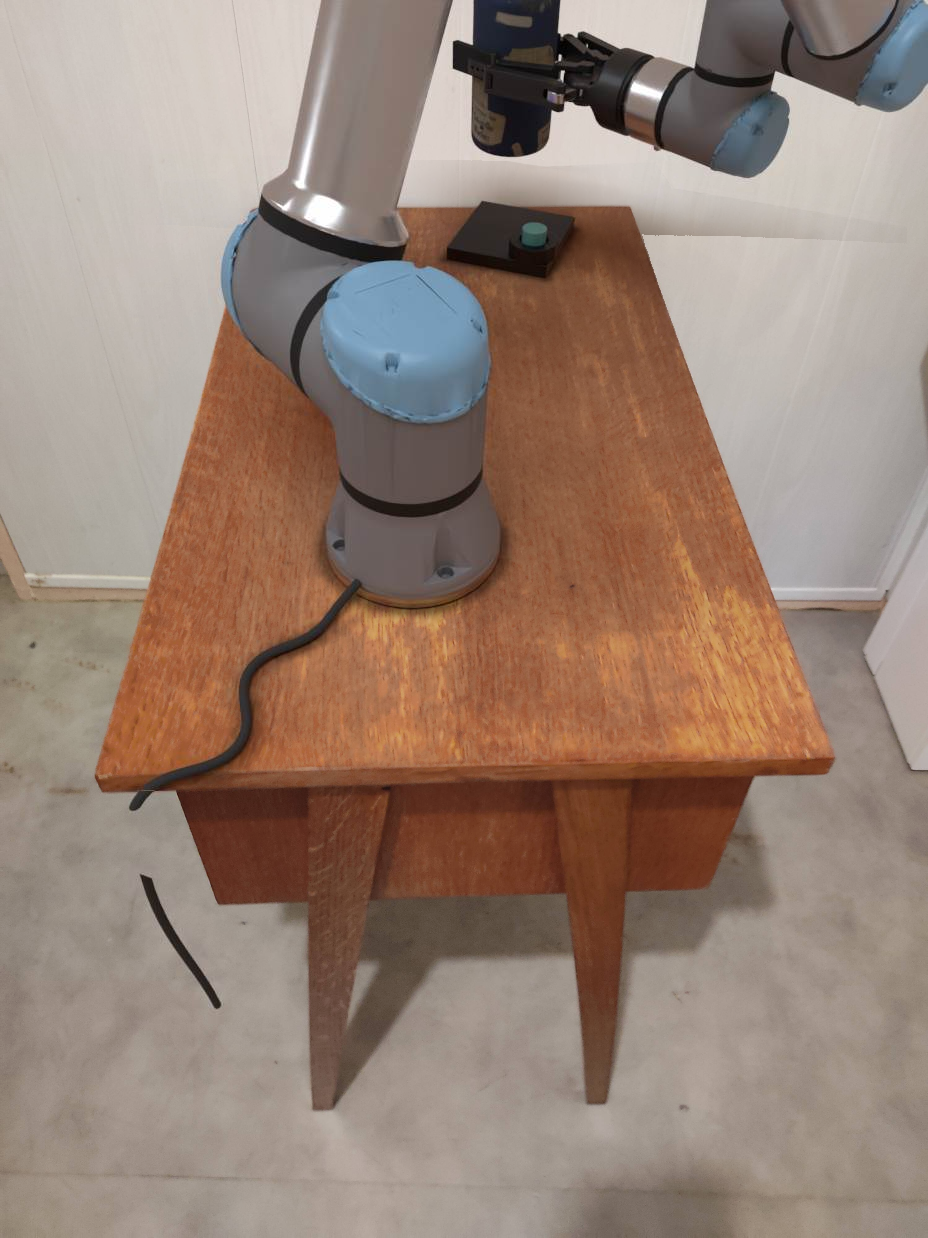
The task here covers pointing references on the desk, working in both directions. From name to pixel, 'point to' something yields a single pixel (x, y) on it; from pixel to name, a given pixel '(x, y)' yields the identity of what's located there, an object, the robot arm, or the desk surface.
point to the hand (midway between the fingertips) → (486, 43)
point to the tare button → (534, 234)
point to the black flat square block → (509, 239)
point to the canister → (520, 31)
